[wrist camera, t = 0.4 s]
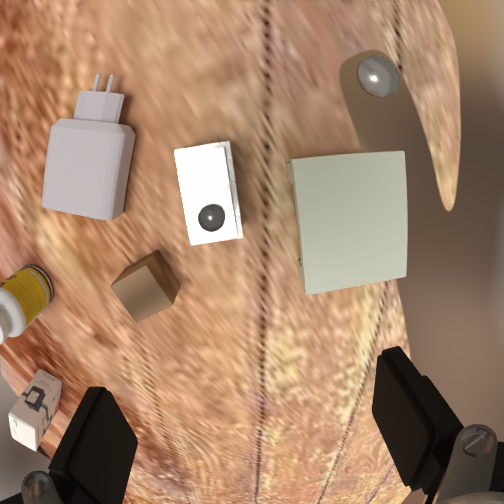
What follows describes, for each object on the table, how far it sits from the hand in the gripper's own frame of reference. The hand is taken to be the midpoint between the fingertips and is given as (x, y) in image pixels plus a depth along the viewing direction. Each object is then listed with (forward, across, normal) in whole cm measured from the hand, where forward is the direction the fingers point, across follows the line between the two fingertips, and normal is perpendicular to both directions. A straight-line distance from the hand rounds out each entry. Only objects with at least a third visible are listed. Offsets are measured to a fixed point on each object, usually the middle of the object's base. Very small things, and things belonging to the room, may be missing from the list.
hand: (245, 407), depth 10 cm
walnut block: (+26, +11, +4) cm, 29 cm away
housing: (+26, +2, -5) cm, 27 cm away
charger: (+26, +14, -13) cm, 32 cm away
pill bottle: (+26, +29, +3) cm, 39 cm away
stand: (+26, -12, 0) cm, 29 cm away
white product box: (+26, +37, +22) cm, 51 cm away
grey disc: (+26, -18, -15) cm, 35 cm away
